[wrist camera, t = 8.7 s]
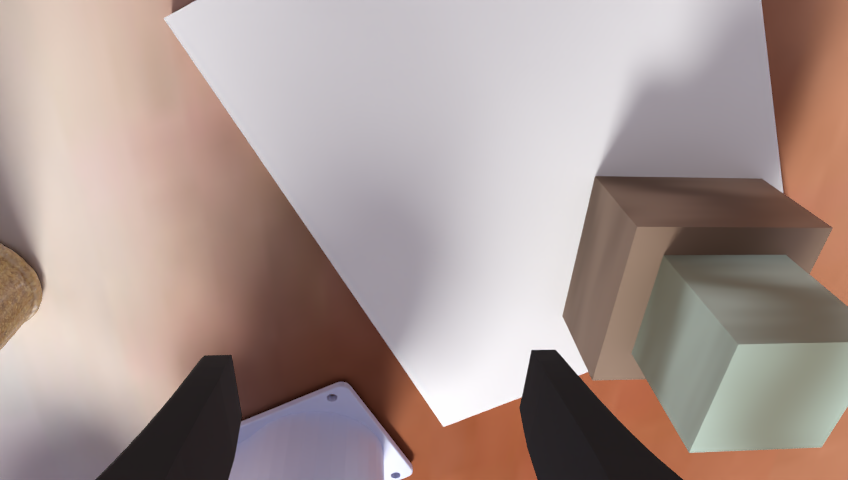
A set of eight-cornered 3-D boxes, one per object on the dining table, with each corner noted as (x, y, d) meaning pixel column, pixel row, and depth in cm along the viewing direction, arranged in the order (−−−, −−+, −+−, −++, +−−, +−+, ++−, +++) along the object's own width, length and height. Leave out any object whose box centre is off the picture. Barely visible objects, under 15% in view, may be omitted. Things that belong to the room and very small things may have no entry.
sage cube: (631, 353, 21) (689, 452, 17) (663, 255, 19) (738, 344, 15) (741, 350, 22) (821, 447, 18) (785, 254, 19) (889, 341, 15)
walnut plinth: (562, 316, 25) (592, 380, 22) (594, 175, 22) (637, 226, 18) (706, 314, 26) (757, 376, 22) (761, 178, 22) (832, 228, 19)
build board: (441, 414, 29) (443, 426, 28) (171, 14, 18) (163, 18, 17) (783, 282, 26) (794, 293, 26) (711, -287, 15) (727, -296, 15)
